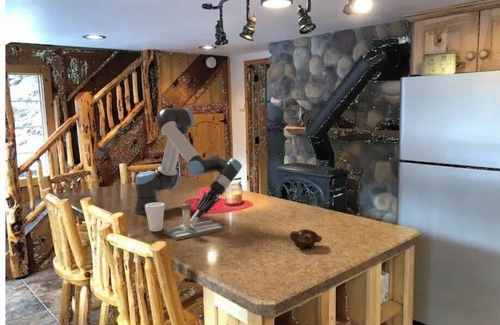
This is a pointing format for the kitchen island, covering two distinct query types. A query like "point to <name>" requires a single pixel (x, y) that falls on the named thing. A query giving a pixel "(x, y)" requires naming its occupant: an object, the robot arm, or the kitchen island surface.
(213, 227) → the board
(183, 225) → the tuning slider
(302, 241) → the decorative turtle
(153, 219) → the foam cup
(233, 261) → the kitchen island surface
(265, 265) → the kitchen island surface
